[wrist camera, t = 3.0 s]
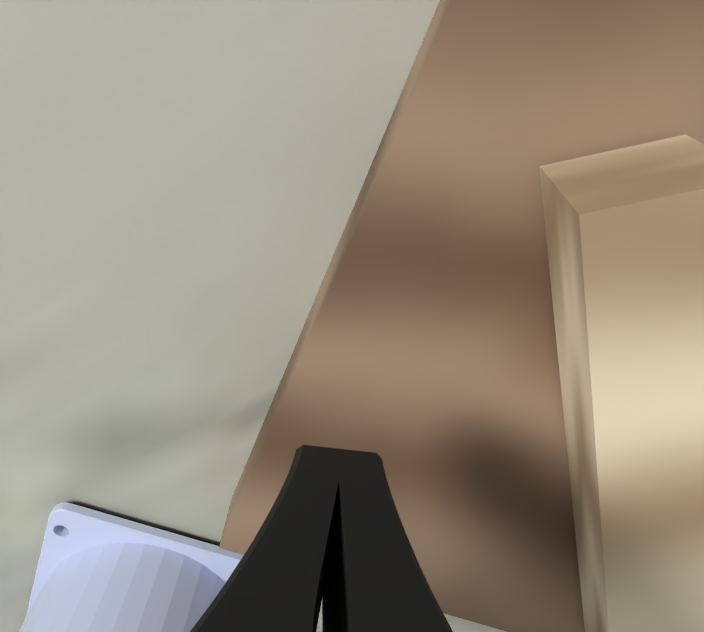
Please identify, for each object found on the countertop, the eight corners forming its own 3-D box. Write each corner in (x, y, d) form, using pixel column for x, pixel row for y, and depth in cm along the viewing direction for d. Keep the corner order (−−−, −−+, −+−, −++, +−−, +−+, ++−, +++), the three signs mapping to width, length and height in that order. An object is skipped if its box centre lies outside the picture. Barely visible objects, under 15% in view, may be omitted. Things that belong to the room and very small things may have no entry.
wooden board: (683, 637, 24) (751, 784, 20) (231, 500, 22) (196, 636, 17) (1274, 70, 14) (1665, 116, 10) (575, -324, 12) (699, -497, 7)
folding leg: (679, 645, 21) (736, 772, 18) (587, 656, 22) (626, 781, 18) (685, 134, 13) (790, 192, 10) (539, 166, 14) (593, 231, 10)
